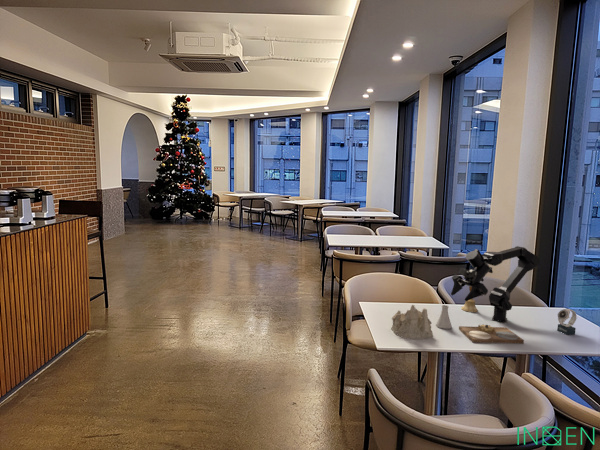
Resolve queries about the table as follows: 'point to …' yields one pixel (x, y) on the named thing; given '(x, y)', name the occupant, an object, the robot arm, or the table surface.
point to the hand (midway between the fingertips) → (458, 297)
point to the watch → (568, 327)
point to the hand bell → (470, 305)
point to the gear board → (490, 334)
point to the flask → (444, 319)
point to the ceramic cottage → (412, 324)
